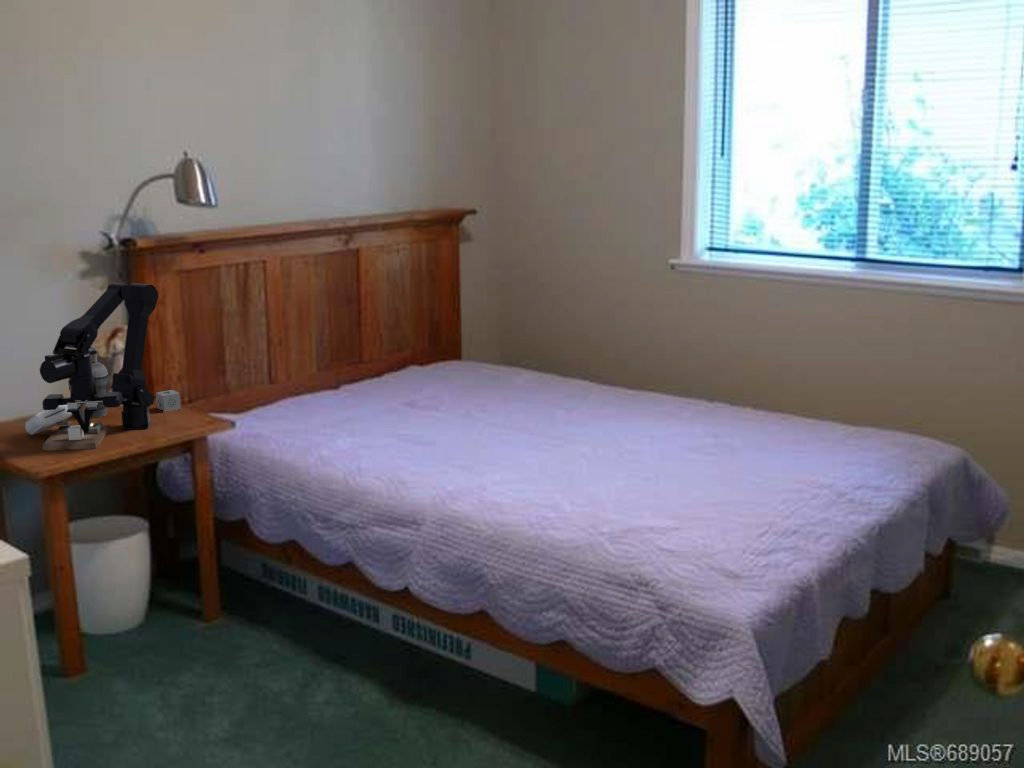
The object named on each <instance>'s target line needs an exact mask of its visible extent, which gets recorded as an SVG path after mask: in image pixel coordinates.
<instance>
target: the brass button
mask: <svg viewBox="0 0 1024 768" xmlns="http://www.w3.org/2000/svg"><path fill="white" fill-rule="evenodd" d="M89 428H95V423H94V421H91V423H90V427H89Z"/></svg>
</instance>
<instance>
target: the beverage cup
mask: <svg viewBox="0 0 1024 768" xmlns="http://www.w3.org/2000/svg"><path fill="white" fill-rule="evenodd" d="M97 349H98V347H97V346H95V347H94V350H95V351H97V352H98V350H97ZM97 357H98V353H97V354H94V361H91V365H92V375H93V378H94V381H96V382H98V394H97V395H95V396H104V395H105V393H106V392H108V380H109V373H108V369H107V367H106V366H105V365H104V364H103V363H101V362H98V360H97V359H98V358H97ZM86 401H89V400H86ZM106 415H107V416H108V408H106V407H105V406H104V405H103V403H101V404H100V407H99V408H98V410H97V411H94V413H93V416H92V418H94V417H98V418H103V416H104V417H106Z"/></svg>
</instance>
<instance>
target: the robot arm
mask: <svg viewBox="0 0 1024 768" xmlns="http://www.w3.org/2000/svg"><path fill="white" fill-rule="evenodd" d="M158 299H159V291H158V289H157V288H156V286H155V285H153V284H150V283H149V284H148V283H136V282H135V283H134V282H131V283H130V284H127V283H126V284H125V283H118V282H117V283H115V282H113V283H110V284H108V286H107V287H106V290H105V291H104V292H103V293H102V294H101V296H99V297H98V299H96V301H95V302H94V303H93V304H92V305H91V307H89V309H88V310H86V311H85V313H84V314H83V315H82V316H80V317H78V318H76V319H73V320H71V321H69V322H68V323H67V324H65V326H63V327H62V328H61V330H60V332H59V337H58V338H57V341H56V344H55V345H54V349H53V351H52V354H48V355H44V361H42V362H41V364H40V367H39V375H40V377H41V378H42V380H43V381H44V382H46V383H48V384H53V383H57V382H60V381H63V380H67V379H68V391H69V393H70V396H69V397H65V396H64V395H63V393H59V394H58V393H53V394H48V395H46V397H45V398H44V399H43V400H42V403H41V404H42V411H44V410H56V409H57V407H58V406H59V405H67V406H68V409H67V412H71V413H72V416H73V417H74V419H75V420H76V421H77V423H78V424H79V425H80V426H81V428H82V430H83V431H84V433H88V431H89V427H90V423H91V422H92V419H93V417H92V416H93V413H94V411H97V410H98V408H99V407H100V404H101V403H103V405H104V406H105V407H106V408H107V409H108V408H119V407H120V406H122V410H121V411H120V413H121V424H122V426H123V428H122V430H145V429H149V427H150V425H151V424H152V422H153V421H152V420H151V415H150V407H151V405H154V404H155V403H154V402H155V396H154V395H153V394H152V392H150V391H149V390H148V389H147V379H146V377H145V375H144V373H143V369H142V368H143V362H144V361H143V360H144V354H145V353H144V352H145V347H146V346H145V345H146V338H147V330H148V324H149V323H148V322H149V317H150V315H152V313H153V312H154V311H155V310H156V307H157V303H158ZM123 302H124V306H125V309H126V312H127V314H128V321H127V328H126V337H125V345H124V351H123V360H122V367H121V369H120V370H119V371H118V373H117V372H114V373H113V374H112V383H111V386H110V389H111V391H107V392H106V393H105V395H104V396H95V395H97V394H98V382H96V381H94V378H93V375H92V365H91V362H92V358H91V357H92V356H95V354H97V355H98V350H97V351H95V348H92V346H93V344H94V342H95V340H97V338H98V334H99V332H98V331H99V329H100V327H101V326H102V325H103V324H104V322H106V320H107V319H108V318H109V317H110V316H111V315H112V314H113V313H114V312H115V310H116V309H117V308H118V307H119V306H120V305H121V304H122V303H123ZM87 400H89V401H87ZM84 405H85V406H86V407H84Z"/></svg>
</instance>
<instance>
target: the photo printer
mask: <svg viewBox="0 0 1024 768" xmlns="http://www.w3.org/2000/svg"><path fill="white" fill-rule="evenodd" d="M67 409H68V406H67V405H59V406H58V407H57V409H56V410H42V411H40V412H38V413H36V414H35V415H33V416H32V417H31V418H29V419H28V420H27V421H26V422H25V423H24V424H25V425H24V428H25V432H26V433H28V434H30V435H31V436H33V435H37V434H39V433H42V432H44V431H47V430H49V429H52V428H54V427H56V426H57V422H66V420H67V419H69V418H70V417H72V416H73V415H72V413H71V412H67Z"/></svg>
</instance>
